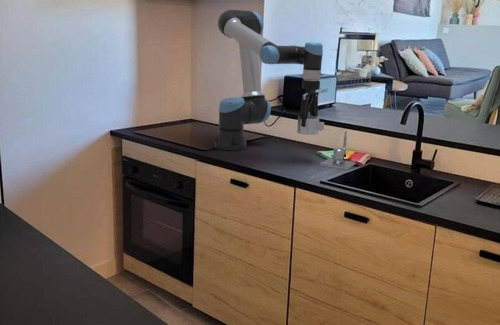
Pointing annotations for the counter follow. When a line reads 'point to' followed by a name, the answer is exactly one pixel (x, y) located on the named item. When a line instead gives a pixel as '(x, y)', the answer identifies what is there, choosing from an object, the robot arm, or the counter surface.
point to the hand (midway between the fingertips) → (307, 132)
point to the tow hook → (344, 144)
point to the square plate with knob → (338, 160)
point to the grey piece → (311, 125)
